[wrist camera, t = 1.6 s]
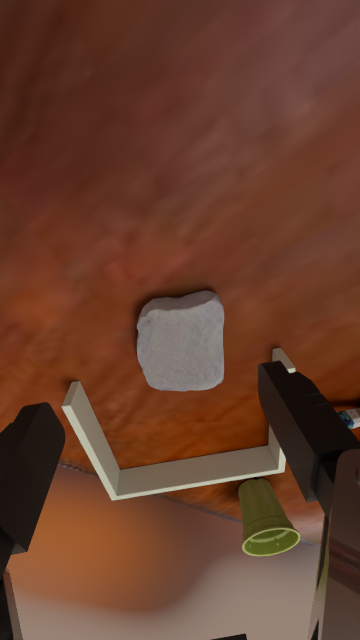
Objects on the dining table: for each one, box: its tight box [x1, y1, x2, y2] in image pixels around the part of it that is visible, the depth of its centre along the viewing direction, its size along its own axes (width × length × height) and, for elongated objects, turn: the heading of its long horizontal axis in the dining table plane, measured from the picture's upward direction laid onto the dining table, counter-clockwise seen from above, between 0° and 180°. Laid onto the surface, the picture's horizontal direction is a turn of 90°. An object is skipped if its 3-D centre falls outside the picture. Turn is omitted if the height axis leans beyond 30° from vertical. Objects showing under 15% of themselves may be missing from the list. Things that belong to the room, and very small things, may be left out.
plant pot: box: [238, 478, 300, 556], centre depth 44 cm, size 9×9×9 cm
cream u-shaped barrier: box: [62, 348, 295, 500], centre depth 36 cm, size 21×27×4 cm
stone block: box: [137, 290, 224, 391], centre depth 29 cm, size 12×5×10 cm
